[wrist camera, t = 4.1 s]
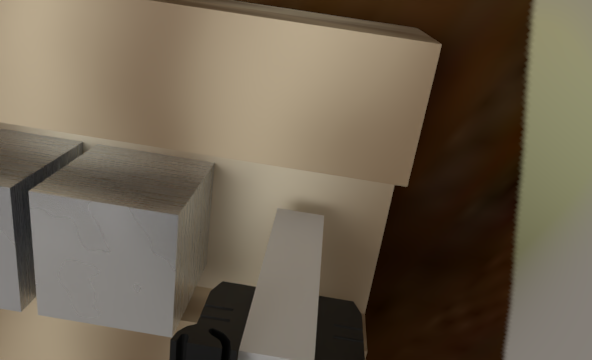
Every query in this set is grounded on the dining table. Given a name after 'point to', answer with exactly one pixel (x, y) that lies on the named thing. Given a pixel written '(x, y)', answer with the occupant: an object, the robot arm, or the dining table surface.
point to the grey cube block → (24, 206)
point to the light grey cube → (121, 238)
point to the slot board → (223, 130)
